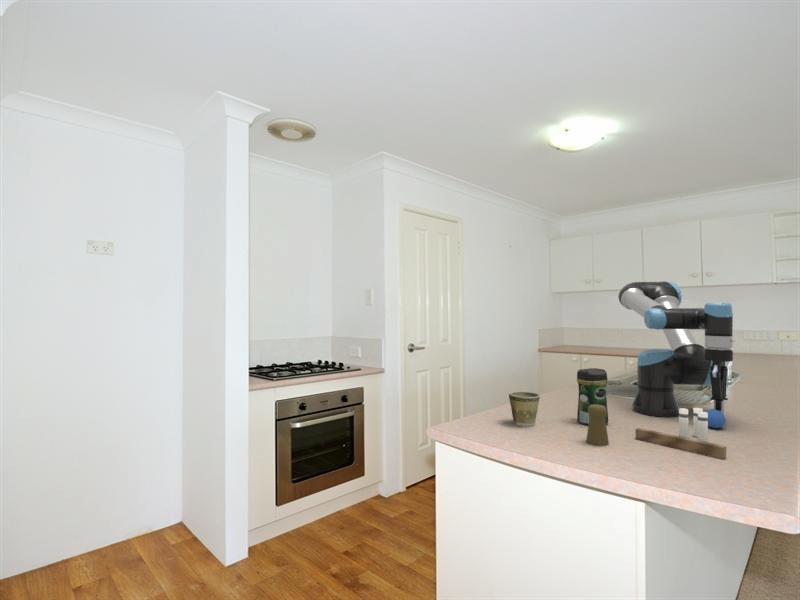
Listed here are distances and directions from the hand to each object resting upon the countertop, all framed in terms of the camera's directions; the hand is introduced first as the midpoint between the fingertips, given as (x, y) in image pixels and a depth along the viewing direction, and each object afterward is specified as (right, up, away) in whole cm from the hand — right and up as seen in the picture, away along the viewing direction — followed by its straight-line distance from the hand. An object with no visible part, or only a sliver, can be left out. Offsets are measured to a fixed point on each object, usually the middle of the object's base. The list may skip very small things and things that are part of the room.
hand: (719, 419), depth 145 cm
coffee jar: (-41, -2, +4) cm, 41 cm away
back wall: (-28, -2, -22) cm, 35 cm away
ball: (-3, +1, -2) cm, 4 cm away
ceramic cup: (-63, -2, +4) cm, 63 cm away
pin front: (-15, -2, -12) cm, 19 cm away
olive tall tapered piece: (-48, -2, -17) cm, 52 cm away
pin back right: (-17, -2, -16) cm, 24 cm away
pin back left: (-20, -2, -12) cm, 24 cm away
